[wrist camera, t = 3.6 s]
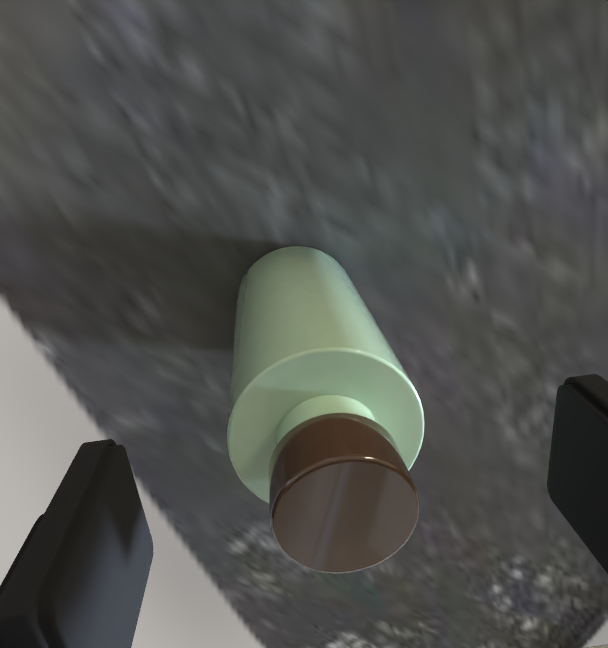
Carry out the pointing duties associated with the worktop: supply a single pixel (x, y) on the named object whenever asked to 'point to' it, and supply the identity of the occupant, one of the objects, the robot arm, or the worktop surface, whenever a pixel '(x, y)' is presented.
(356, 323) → the bottle
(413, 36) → the worktop surface
